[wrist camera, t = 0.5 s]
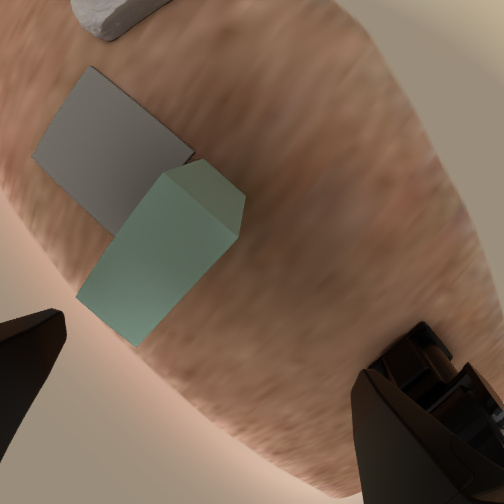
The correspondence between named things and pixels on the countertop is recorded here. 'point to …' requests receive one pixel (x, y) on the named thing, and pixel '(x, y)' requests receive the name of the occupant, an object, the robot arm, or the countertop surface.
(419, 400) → the robot arm
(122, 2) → the stone block
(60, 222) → the countertop surface
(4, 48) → the countertop surface
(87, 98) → the mat
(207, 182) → the slab
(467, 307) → the countertop surface
